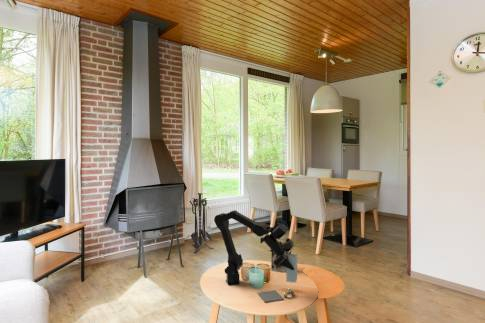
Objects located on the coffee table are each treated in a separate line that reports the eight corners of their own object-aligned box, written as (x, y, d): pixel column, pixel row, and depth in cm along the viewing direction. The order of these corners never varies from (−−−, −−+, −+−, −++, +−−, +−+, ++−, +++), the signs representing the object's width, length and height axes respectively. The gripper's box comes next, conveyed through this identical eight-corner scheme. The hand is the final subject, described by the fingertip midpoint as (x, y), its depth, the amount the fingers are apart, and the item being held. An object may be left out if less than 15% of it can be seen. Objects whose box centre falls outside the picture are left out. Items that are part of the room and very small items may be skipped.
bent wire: (284, 298, 151) (284, 293, 151) (280, 293, 156) (280, 288, 156) (295, 297, 152) (295, 291, 152) (290, 292, 157) (290, 287, 157)
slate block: (286, 281, 154) (286, 256, 154) (288, 278, 158) (288, 253, 158) (295, 282, 152) (295, 257, 152) (297, 279, 157) (297, 254, 157)
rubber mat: (264, 302, 146) (264, 301, 146) (257, 293, 156) (257, 292, 156) (283, 299, 149) (283, 298, 149) (275, 291, 159) (275, 290, 159)
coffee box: (270, 270, 187) (271, 244, 187) (273, 267, 193) (273, 242, 193) (285, 272, 184) (285, 246, 184) (287, 269, 190) (287, 243, 190)
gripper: (280, 239, 148) (302, 264, 144) (288, 230, 165) (308, 252, 161) (264, 253, 151) (286, 278, 147) (274, 243, 168) (293, 265, 164)
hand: (294, 268), depth 155 cm, fingers closed on slate block, 5 cm apart
